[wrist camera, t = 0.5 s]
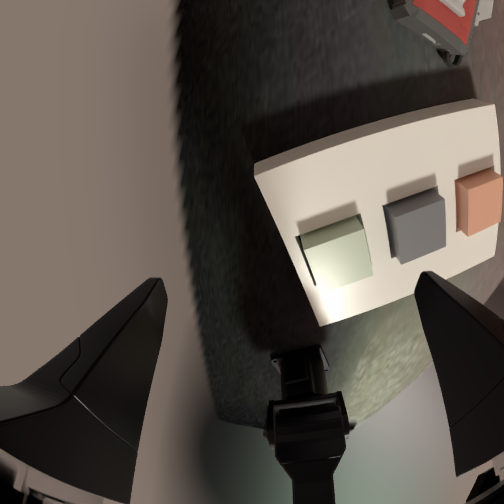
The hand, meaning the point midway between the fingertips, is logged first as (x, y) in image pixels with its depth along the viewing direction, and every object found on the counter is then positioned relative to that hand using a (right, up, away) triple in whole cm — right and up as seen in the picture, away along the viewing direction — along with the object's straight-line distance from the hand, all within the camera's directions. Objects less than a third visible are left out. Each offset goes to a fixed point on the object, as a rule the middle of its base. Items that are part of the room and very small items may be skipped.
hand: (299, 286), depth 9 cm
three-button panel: (+11, +5, +13) cm, 18 cm away
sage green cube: (+5, +3, +15) cm, 16 cm away
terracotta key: (+18, +7, +11) cm, 22 cm away
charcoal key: (+11, +5, +13) cm, 18 cm away
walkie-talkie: (+15, +25, 0) cm, 29 cm away
